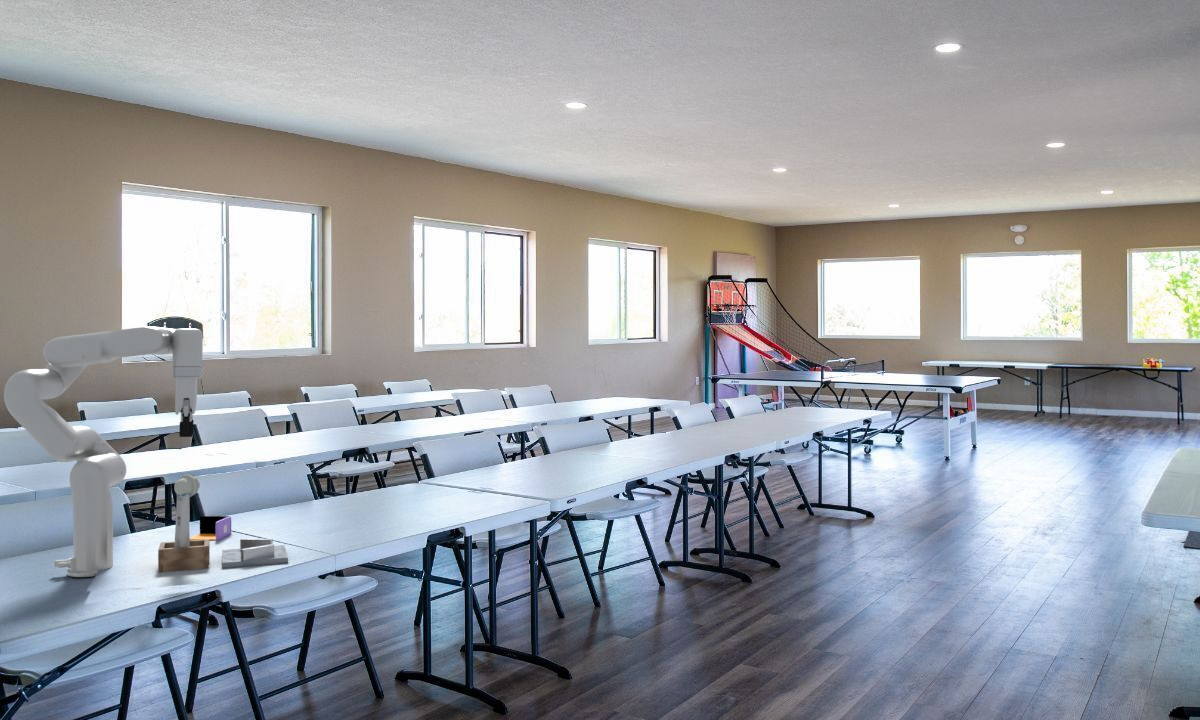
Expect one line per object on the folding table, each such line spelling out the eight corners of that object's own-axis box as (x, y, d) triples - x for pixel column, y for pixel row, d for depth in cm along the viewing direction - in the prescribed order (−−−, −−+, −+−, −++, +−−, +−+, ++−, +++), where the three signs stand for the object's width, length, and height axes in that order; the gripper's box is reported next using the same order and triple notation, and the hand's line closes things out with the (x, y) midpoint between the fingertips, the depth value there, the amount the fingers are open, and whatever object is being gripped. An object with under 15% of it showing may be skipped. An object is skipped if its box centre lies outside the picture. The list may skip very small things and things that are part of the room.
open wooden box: (158, 572, 241) (158, 549, 241) (160, 564, 251) (160, 542, 251) (208, 568, 246) (208, 546, 246) (209, 560, 255) (209, 539, 255)
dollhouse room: (236, 536, 291) (236, 515, 291) (220, 544, 279) (220, 522, 279) (198, 536, 291) (198, 515, 291) (181, 544, 279) (181, 522, 279)
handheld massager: (168, 568, 245) (168, 476, 246) (183, 563, 252) (183, 473, 252) (185, 569, 245) (185, 476, 245) (200, 563, 251) (200, 473, 251)
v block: (221, 568, 245) (221, 551, 245) (222, 555, 262) (222, 539, 262) (288, 562, 252) (287, 546, 252) (284, 550, 269) (284, 535, 269)
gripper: (173, 372, 255) (172, 433, 255) (170, 373, 239) (170, 438, 239) (202, 372, 258) (201, 432, 258) (201, 373, 242) (201, 437, 242)
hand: (186, 435), depth 249 cm, fingers open, 9 cm apart
